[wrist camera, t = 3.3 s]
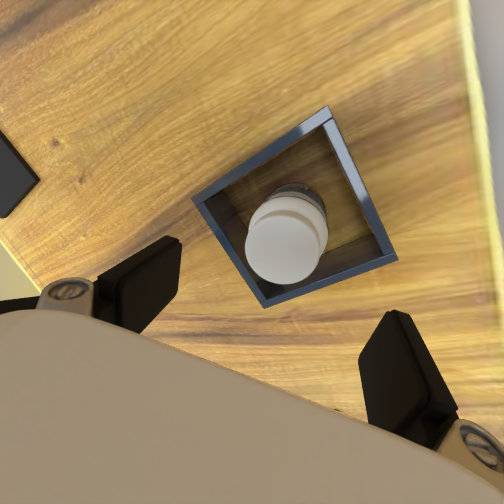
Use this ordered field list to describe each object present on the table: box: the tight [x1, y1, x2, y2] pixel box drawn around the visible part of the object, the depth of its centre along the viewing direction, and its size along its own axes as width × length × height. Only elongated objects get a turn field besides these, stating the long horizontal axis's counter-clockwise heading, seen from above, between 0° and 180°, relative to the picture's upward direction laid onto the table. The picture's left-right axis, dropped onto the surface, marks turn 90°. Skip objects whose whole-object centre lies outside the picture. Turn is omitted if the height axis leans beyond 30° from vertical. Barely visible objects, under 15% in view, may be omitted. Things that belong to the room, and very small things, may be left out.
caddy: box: [191, 105, 399, 309], centre depth 22 cm, size 12×12×5 cm
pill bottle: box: [245, 183, 329, 284], centre depth 19 cm, size 6×6×10 cm
